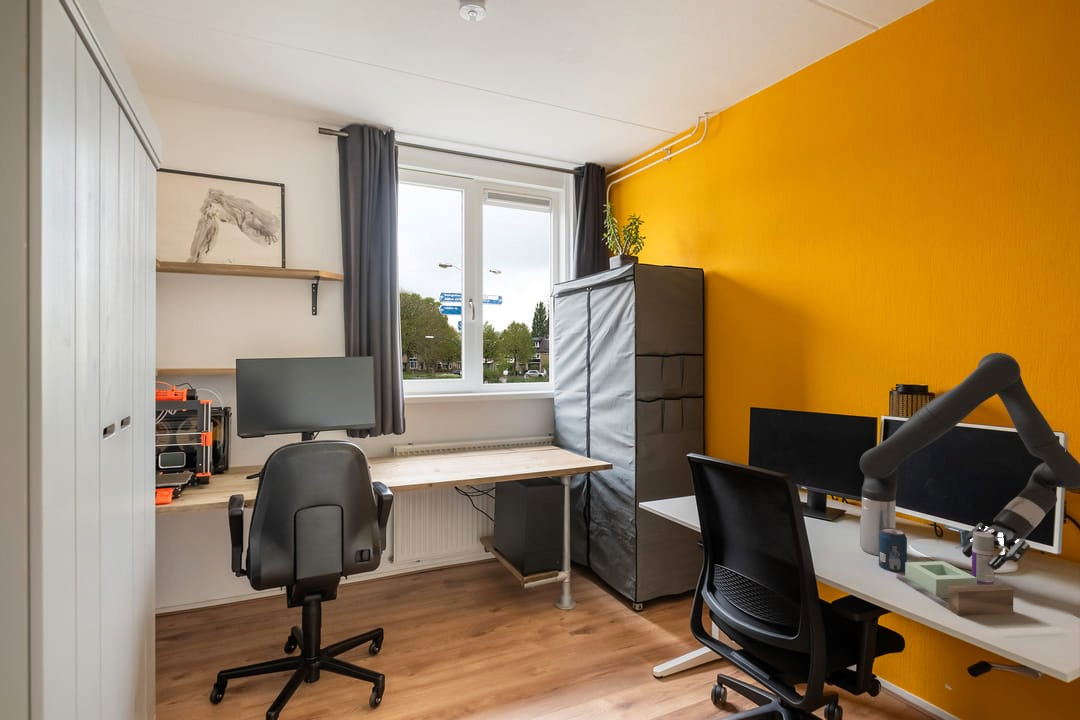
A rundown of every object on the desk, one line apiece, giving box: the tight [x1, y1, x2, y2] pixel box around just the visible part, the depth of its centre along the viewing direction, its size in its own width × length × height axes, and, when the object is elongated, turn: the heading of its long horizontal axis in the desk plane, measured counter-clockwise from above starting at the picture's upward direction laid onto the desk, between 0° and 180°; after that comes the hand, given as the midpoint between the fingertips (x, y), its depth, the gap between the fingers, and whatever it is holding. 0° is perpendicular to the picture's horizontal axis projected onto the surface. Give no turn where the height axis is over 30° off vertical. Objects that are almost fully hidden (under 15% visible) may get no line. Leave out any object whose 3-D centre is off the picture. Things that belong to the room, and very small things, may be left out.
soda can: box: [878, 527, 908, 573], centre depth 161 cm, size 7×7×12 cm
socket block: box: [904, 560, 977, 599], centre depth 147 cm, size 11×11×5 cm
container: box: [971, 532, 995, 585], centre depth 149 cm, size 5×5×15 cm
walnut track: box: [895, 574, 1015, 617], centre depth 143 cm, size 23×14×7 cm, turn 3°
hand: (978, 561), depth 149 cm, fingers open, 8 cm apart
